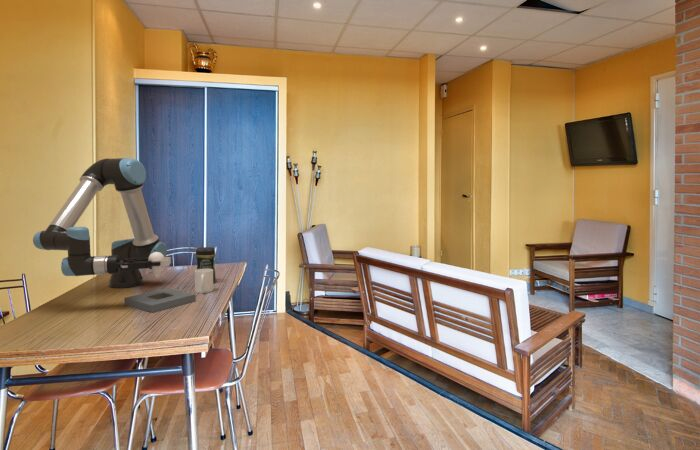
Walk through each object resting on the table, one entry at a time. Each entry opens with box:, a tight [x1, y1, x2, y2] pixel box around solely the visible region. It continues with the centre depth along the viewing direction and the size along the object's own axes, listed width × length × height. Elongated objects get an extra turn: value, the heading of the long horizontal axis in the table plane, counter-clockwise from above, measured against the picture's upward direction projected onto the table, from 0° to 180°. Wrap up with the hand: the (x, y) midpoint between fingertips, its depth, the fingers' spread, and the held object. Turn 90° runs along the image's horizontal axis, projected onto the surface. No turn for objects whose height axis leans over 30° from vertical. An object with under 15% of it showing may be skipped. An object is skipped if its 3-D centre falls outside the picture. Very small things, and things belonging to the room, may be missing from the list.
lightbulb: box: [148, 252, 164, 279], centre depth 171 cm, size 6×6×11 cm
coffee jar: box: [195, 246, 217, 284], centre depth 210 cm, size 10×8×19 cm
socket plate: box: [123, 287, 197, 314], centre depth 173 cm, size 20×20×3 cm
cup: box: [194, 268, 214, 294], centre depth 191 cm, size 8×12×10 cm
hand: (169, 261), depth 172 cm, fingers closed on lightbulb, 6 cm apart
